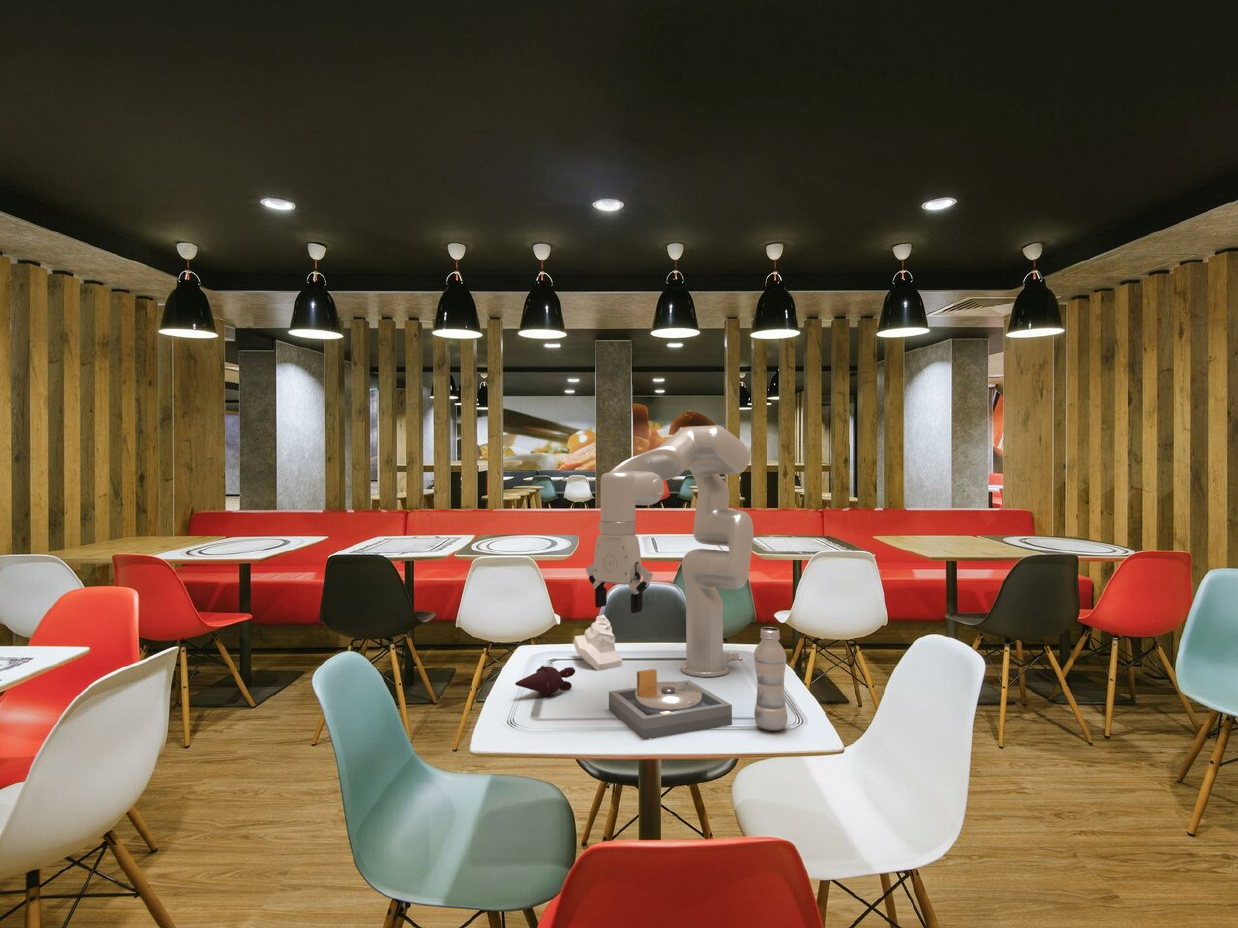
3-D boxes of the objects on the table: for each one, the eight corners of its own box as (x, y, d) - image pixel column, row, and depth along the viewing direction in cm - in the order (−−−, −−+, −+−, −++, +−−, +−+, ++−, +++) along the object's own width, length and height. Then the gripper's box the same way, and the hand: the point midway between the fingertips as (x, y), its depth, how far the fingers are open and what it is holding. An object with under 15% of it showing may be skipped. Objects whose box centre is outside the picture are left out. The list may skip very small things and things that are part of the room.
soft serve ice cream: (613, 659, 191) (626, 612, 190) (620, 680, 176) (634, 628, 175) (570, 650, 189) (583, 602, 188) (574, 670, 174) (588, 618, 173)
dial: (681, 691, 150) (681, 656, 151) (714, 711, 137) (713, 673, 138) (624, 700, 145) (624, 663, 145) (653, 722, 132) (652, 681, 132)
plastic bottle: (769, 737, 130) (768, 634, 130) (747, 725, 136) (746, 627, 136) (794, 731, 133) (793, 630, 133) (772, 720, 139) (771, 624, 139)
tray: (689, 697, 153) (689, 678, 153) (732, 724, 137) (731, 703, 137) (608, 709, 146) (608, 689, 146) (643, 739, 129) (643, 717, 129)
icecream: (524, 677, 148) (583, 672, 156) (512, 661, 154) (569, 657, 162) (518, 706, 149) (577, 699, 157) (506, 689, 155) (564, 683, 163)
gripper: (576, 528, 146) (576, 607, 146) (640, 532, 135) (640, 617, 135) (598, 526, 152) (598, 602, 152) (661, 530, 141) (661, 611, 141)
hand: (618, 609), depth 143 cm, fingers open, 9 cm apart
